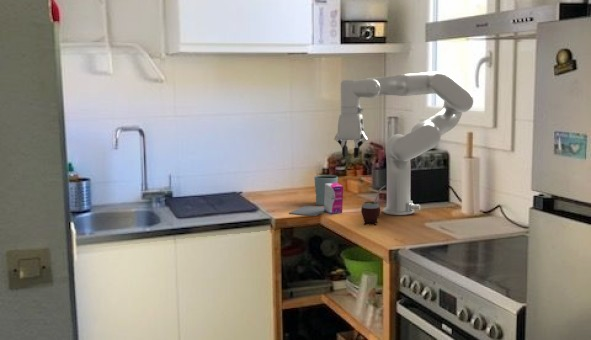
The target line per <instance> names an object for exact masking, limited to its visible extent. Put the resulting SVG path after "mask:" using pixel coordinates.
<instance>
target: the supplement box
mask: <svg viewBox="0 0 591 340" xmlns="http://www.w3.org/2000/svg"><path fill="white" fill-rule="evenodd" d="M343 198H344V185H342V184H340V183H338V182H337V183H327V184H325V198H324V206H323V207H324V211H325V213H328V214H329V215H330V214H331V215H332V214H337V213H338V214H341V213H343V205H344V204H343V203H344V201H343Z"/></svg>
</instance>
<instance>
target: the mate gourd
mask: <svg viewBox="0 0 591 340" xmlns="http://www.w3.org/2000/svg"><path fill="white" fill-rule="evenodd" d="M385 187H387V184H385V185H384V186H382V187H380V188H379V189H378V190H377V194H376V196H375V199H374V201H365V202H363V203H362V205H361V209H360V211H361V215H362V218H363V226H366V225H367V226H368V225H372V226H377V224H378V223H379V221H378V220H379V216H380V214H381V206H380V205H379V203H378V202H377V200H378V198H379V195H380V193H381V191H382V189H384V188H385Z"/></svg>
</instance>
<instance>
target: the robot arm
mask: <svg viewBox="0 0 591 340" xmlns="http://www.w3.org/2000/svg"><path fill="white" fill-rule="evenodd" d="M432 94H433V95H435V94H436V95H437V96H438V97H440V99H442V101H444V102H443V106H442V108H441V110H440V111H438V112H437V113H436V114H434V115H432V116H430V117H427V118H426V119H424V120H422V121H420V122H418V123H416V124H415V125H413V127H412V128H411V130H410V132H409V133H407V134H405V135H404V134H400V133H396V134H393V135H390V137H388V139H387V140H386V143H385V158H386V206H385V207H384V208H382V213H384V214H386V215H392V216H407V215H412V214H414V213H415V210H416V211H420V210H421V205H420V204H419V203H418V204H417V203H416V204H415V203H413V200H411V189H412V188H411V177H412V176H411V173H412V172H411V169H412V168H411V160H412V159H414V158H417V157H418V156H420V155H422V154H424V153H426V152H428V151H430V150H432V149H433V148H435V147H436V146H437V145H438V144H439V143H440V140H441V136H443V135H445V134H446V133H448V132H450V131H451V130H452V129H454V128H455V127H456V126H457V125H458V123H459V121H460V119H461V117H462V115H463V113H466V112H468V111H469V110H471V109H472V108H473V105H474V98H473V95H472V94H471V92H469V90H467V89H466V88H465V87H464V86H462V85H461V84H460V83H458V81H456V80H454V78H453V77H451V76H450V75H449V74H447V73H445V72H443V71H426V72H418V73H417V72H415V73H404V74H397V75H390V76H379V77H367V78H363V79H359V80H358V79H343V80H342V81H340V114H339V116H338V122H337V133H336V134H335V136H334V138H333V140H334V141H336V142H337V143H338V144H339V145H340V147H341V152H342V153H341V154H342V157H343V158H347V157H348V156H349V155H348V154H349V153H348V152H349V151H348V150H349V149H348V148H349V147H348V146H347V145H348V141H354V148H353V157H354V158H355V159H356V158H359V157H360V155H361V154H360V148H361V147H362V145H363V144H364V143H366V142H367V141H368V140H369V139H368V137H367V136H366V133H365V124H364V123H365V122H364V116H363V114H362V113H363V112H364V108H363V107H361V98H366V99H374V98H376V97H379V96H396V97H397V96H398V97H410V96H418V95H419V96H421V95H432Z"/></svg>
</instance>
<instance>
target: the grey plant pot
mask: <svg viewBox="0 0 591 340" xmlns="http://www.w3.org/2000/svg"><path fill="white" fill-rule="evenodd" d="M313 178H314V187H315V203H316V204H315V205H317V206H320V207H324V198H325V184H327V183H338V182H339V181H338V179H339V177H338V175H333V174H319V175H315V176H313Z"/></svg>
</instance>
